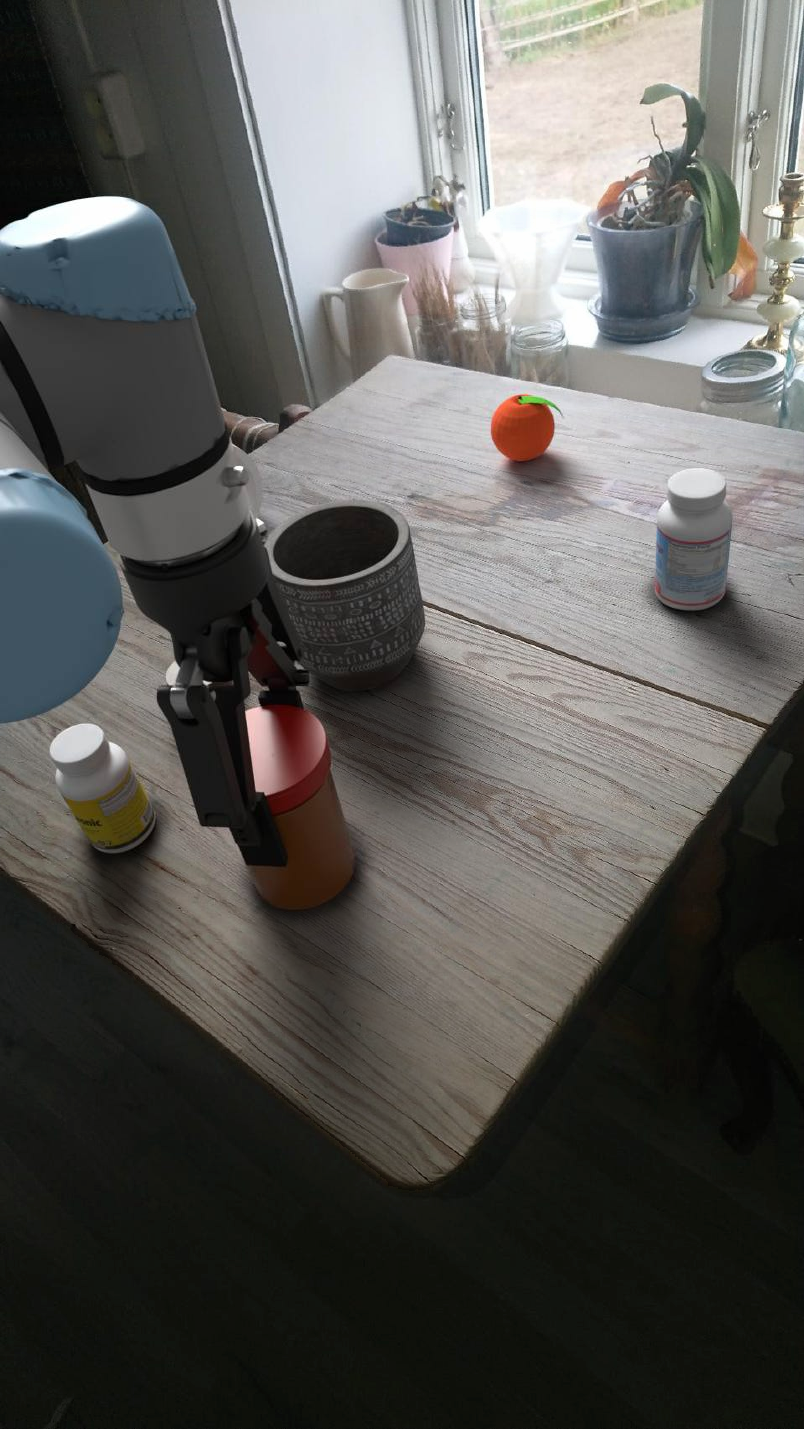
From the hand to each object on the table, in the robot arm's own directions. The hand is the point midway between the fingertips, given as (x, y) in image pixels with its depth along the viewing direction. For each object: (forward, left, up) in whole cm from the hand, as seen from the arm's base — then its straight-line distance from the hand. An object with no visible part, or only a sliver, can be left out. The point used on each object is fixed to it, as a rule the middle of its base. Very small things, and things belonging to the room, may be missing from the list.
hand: (284, 808), depth 67 cm
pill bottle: (+19, +38, -7) cm, 43 cm away
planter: (-6, +22, -7) cm, 24 cm away
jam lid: (0, 0, +5) cm, 5 cm away
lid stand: (-17, +13, -7) cm, 22 cm away
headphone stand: (-29, +38, -7) cm, 48 cm away
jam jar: (0, 0, -7) cm, 7 cm away
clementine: (-3, +58, -7) cm, 58 cm away
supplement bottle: (-16, -1, -7) cm, 17 cm away
